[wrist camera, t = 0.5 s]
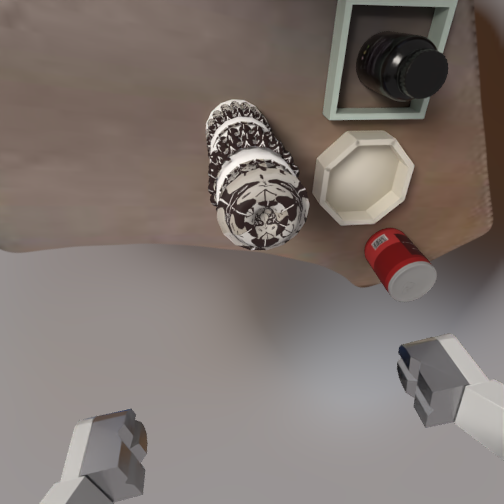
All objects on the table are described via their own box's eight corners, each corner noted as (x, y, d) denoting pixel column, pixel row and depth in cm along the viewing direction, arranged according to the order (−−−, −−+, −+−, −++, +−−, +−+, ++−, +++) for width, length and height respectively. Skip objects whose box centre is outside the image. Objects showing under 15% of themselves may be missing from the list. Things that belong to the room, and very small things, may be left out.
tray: (338, -5, 43) (347, -5, 41) (443, -1, 45) (458, -1, 43) (322, 114, 51) (329, 120, 49) (413, 113, 53) (423, 118, 50)
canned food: (358, 263, 68) (383, 303, 59) (369, 226, 63) (398, 264, 55) (396, 262, 69) (426, 301, 60) (409, 226, 65) (445, 263, 56)
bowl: (320, 131, 52) (328, 140, 49) (408, 129, 54) (422, 138, 51) (309, 214, 60) (316, 227, 57) (386, 210, 62) (397, 222, 59)
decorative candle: (224, 174, 54) (245, 281, 34) (189, 118, 49) (189, 206, 29) (279, 143, 53) (335, 235, 32) (248, 82, 47) (293, 147, 27)
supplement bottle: (414, 42, 47) (472, 54, 38) (386, 95, 51) (433, 119, 41) (371, 20, 45) (420, 27, 36) (344, 77, 49) (383, 98, 39)
